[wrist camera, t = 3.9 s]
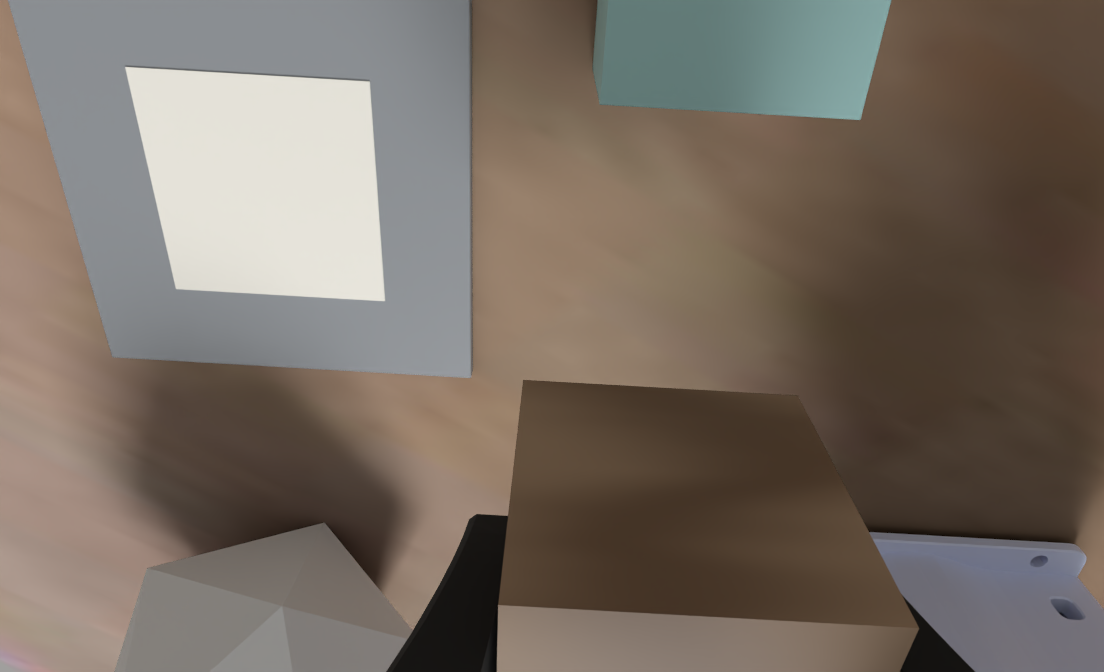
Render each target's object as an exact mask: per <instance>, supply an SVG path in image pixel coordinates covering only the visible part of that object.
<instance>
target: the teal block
mask: <svg viewBox="0 0 1104 672" xmlns="http://www.w3.org/2000/svg"><path fill="white" fill-rule="evenodd" d="M890 4H891V0H598V4H597V17H596V30H595V43H594V56H593V73H594V78H595V83H596V88H597V93H598V98H599V103H600V105H615V106H632V107H649V108H666V109H683V110H700V111H717V112H734V113H751V114H768V115H785V116H802V117H819V118H836V119H853V120H860V119H861V115H862V111H863V108H864V104H865V100H866V96H867V92H868V88H869V84H870V81H871V77H872V73H873V69H874V65H875V61H876V57H877V54H878V50H879V46H880V42H881V38H882V34H883V31H884V27H885V23H886V19H887V15H888V11H889V7H890Z"/></svg>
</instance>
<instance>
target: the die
mask: <svg viewBox="0 0 1104 672" xmlns="http://www.w3.org/2000/svg"><path fill="white" fill-rule="evenodd" d="M412 631H413V630H412V629H411V628H410V627H409V625H408V624H407V623H406V622H405V620H404V619H403V618H402V617H401V616H400V614H399V613H398V612H397V611H396V609H395V608H394V607H393V606H392V605H391V603H390V602H389V601H388V600H387V598H386V597H385V596H384V595H383V594H382V592H381V591H380V590H379V589H378V587H377V586H376V585H375V584H374V583H373V581H372V580H371V579H370V578H369V576H368V575H367V574H366V573H365V572H364V570H363V569H362V568H361V567H360V565H359V564H358V563H357V562H356V561H355V559H354V558H353V557H352V556H351V554H350V553H349V552H348V551H347V550H346V548H345V547H344V546H343V545H342V543H341V542H340V541H339V540H338V539H337V537H336V536H335V535H334V534H333V532H332V531H331V530H330V529H329V528H328V526H327V525H326V524H325V523H321V524H317V525H313V526H309V527H305V528H301V529H297V530H294V531H290V532H286V533H282V534H278V535H274V536H270V537H266V538H262V539H259V540H255V541H251V542H247V543H243V544H239V545H235V546H231V547H227V548H224V549H220V550H216V551H212V552H208V553H204V554H200V555H196V556H192V557H188V558H185V559H181V560H177V561H173V562H169V563H165V564H161V565H157V566H153V567H150V568H147V570H146V574H145V577H144V580H143V583H142V586H141V589H140V593H139V596H138V599H137V602H136V605H135V608H134V611H133V615H132V618H131V621H130V624H129V627H128V630H127V633H126V637H125V640H124V643H123V646H122V649H121V652H120V655H119V659H118V662H117V665H116V668H115V671H114V672H386V671H387V670H388V668H389V667H390V665H391V663H392V662H393V660H394V659H395V657H396V656H397V654H398V653H399V651H400V650H401V648H402V647H403V645H404V644H405V642H406V641H407V639H408V638H409V636H410V635H411V633H412Z"/></svg>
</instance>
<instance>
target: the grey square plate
mask: <svg viewBox="0 0 1104 672" xmlns="http://www.w3.org/2000/svg"><path fill="white" fill-rule="evenodd" d="M8 2H9V5H10V9H11V12H12V16H13V19H14V22H15V26H16V29H17V33H18V36H19V40H20V43H21V46H22V50H23V53H24V57H25V60H26V63H27V67H28V70H29V74H30V77H31V81H32V84H33V87H34V91H35V94H36V98H37V101H38V104H39V108H40V111H41V115H42V118H43V122H44V125H45V128H46V132H47V135H48V139H49V142H50V145H51V149H52V152H53V156H54V159H55V163H56V166H57V169H58V173H59V176H60V180H61V183H62V186H63V190H64V193H65V197H66V200H67V204H68V207H69V210H70V214H71V217H72V221H73V224H74V227H75V231H76V234H77V238H78V241H79V245H80V248H81V251H82V255H83V258H84V262H85V265H86V268H87V272H88V275H89V279H90V282H91V286H92V289H93V292H94V296H95V299H96V303H97V306H98V309H99V313H100V316H101V320H102V323H103V327H104V330H105V333H106V337H107V340H108V344H109V347H110V350H111V354H112V357H117V358H135V359H152V360H169V361H186V362H204V363H221V364H238V365H256V366H273V367H290V368H307V369H325V370H342V371H359V372H376V373H394V374H411V375H428V376H446V377H463V378H471V375H472V371H473V351H472V0H8Z"/></svg>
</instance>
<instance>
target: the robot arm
mask: <svg viewBox="0 0 1104 672" xmlns="http://www.w3.org/2000/svg"><path fill="white" fill-rule="evenodd" d="M507 522H508V516H499V515H481V514H476V515H475V516H473V517H472V518H471V519H469V522H468V524H467V527H466V530H465V533H464V535H463V538H462V540H461V542H460V545H459V547H458V549H457V551H456V553H455V555H454V558H453V560H452V562H451V564H450V566H449V568H448V569H447V571H446V573H445V575H444V577H443V579H442V581H441V583H440V585H439V587H438V588H437V590H436V592H435V594H434V595H433V597H432V599H431V601H430V602H429V604H428V606H427V608H426V609H425V611H424V613H423V614H422V616H421V618H420V620H419V621H418V623H417V625H416V626H415V628H414V630H413V631H412V633H411V635H410V636H409V638H408V639H407V641H406V642H405V644H404V645H403V647H402V648H401V650H400V651H399V653H398V654H397V656H396V657H395V659H394V660H393V662H392V663H391V665H390V667H389V668H388V670H387V671H386V672H497V638H498V603H499V594H500V585H501V576H502V567H503V558H504V549H505V540H506V531H507ZM869 533H870V535H871V537H872V539H873V541H874V543H875V545H876V547H877V548H878V550H879V552H880V554H881V556H882V558H883V560H884V562H885V564H886V566H887V568H888V570H889V571H890V573H891V575H892V577H893V579H894V581H895V583H896V585H897V587H898V589H899V591H900V593H901V594H902V596H903V598H904V600H905V602H906V604H907V606H908V608H909V610H910V612H911V614H912V615H913V617H914V619H915V621H916V623H917V625H918V627H919V630H918V632H917V634H916V637H915V639H914V641H913V643H912V645H911V648H910V650H909V652H908V654H907V656H906V659H905V661H904V663H903V665H902V668H901V670H900V672H1104V609H1103V608H1102V607H1101V605H1100V604H1099V603H1098V602H1097V600H1096V599H1095V598H1094V597H1093V596H1092V594H1091V593H1090V592H1089V591H1088V589H1087V588H1086V587H1085V586H1084V585H1083V583H1082V582H1081V581H1080V580H1079V578H1078V577H1077V576H1078V575H1079V573H1080V571H1081V569H1082V568H1083V566H1084V564H1085V562H1086V559H1087V558H1086V555H1085V554H1084V552H1083V551H1082V550H1081V549H1080V548H1079V547H1078V546H1077V545H1075V544H1070V543H1054V542H1036V541H1019V540H1001V539H984V538H966V537H949V536H931V535H913V534H896V533H878V532H869Z"/></svg>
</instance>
